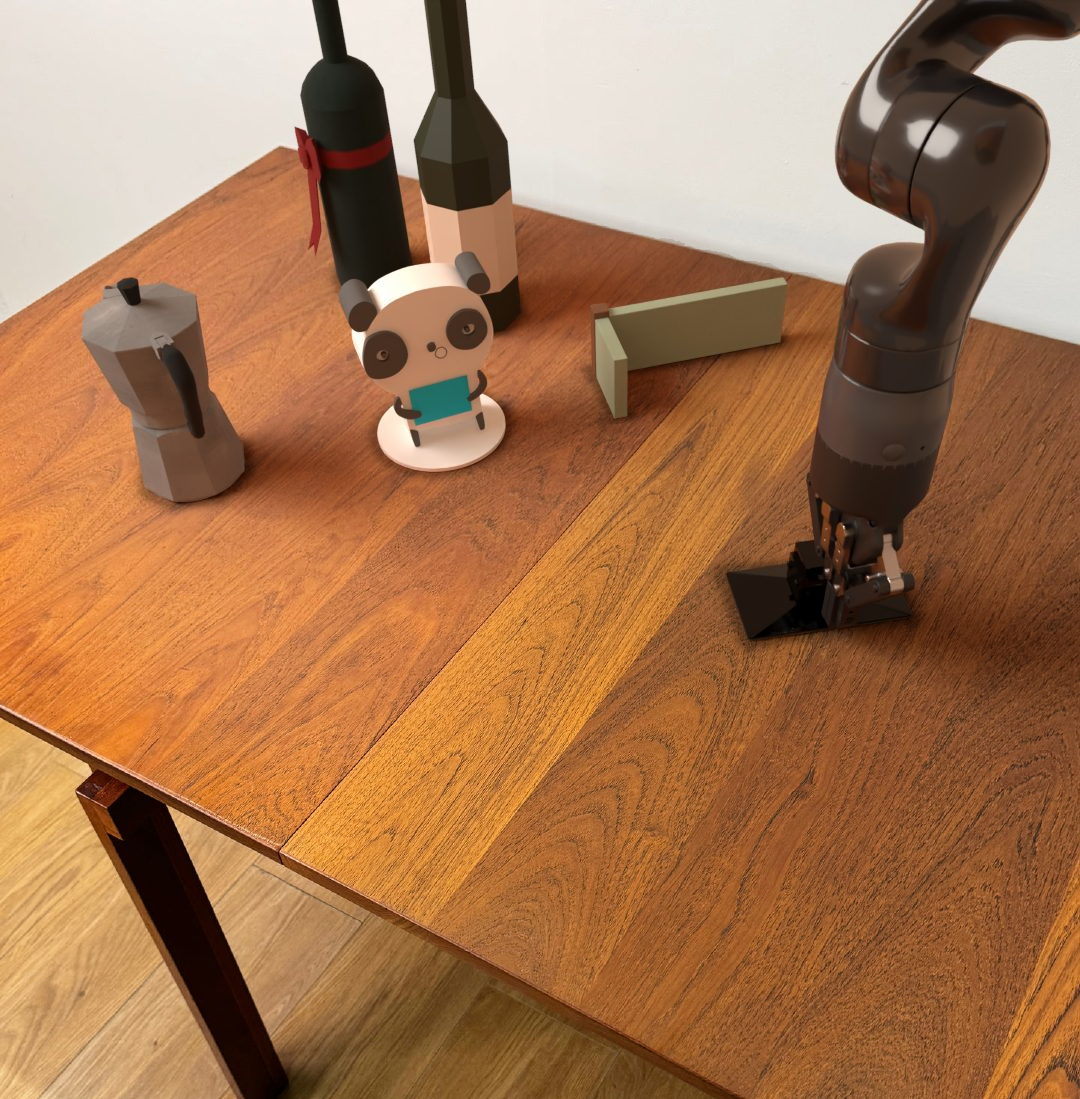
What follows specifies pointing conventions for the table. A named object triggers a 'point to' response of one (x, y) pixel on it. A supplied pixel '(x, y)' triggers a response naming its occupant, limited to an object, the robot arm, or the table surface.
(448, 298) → the panda figurine
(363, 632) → the table surface
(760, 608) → the build plate
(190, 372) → the coffeepot
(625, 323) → the corner rails
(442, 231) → the wine bottle
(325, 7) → the wine bottle
